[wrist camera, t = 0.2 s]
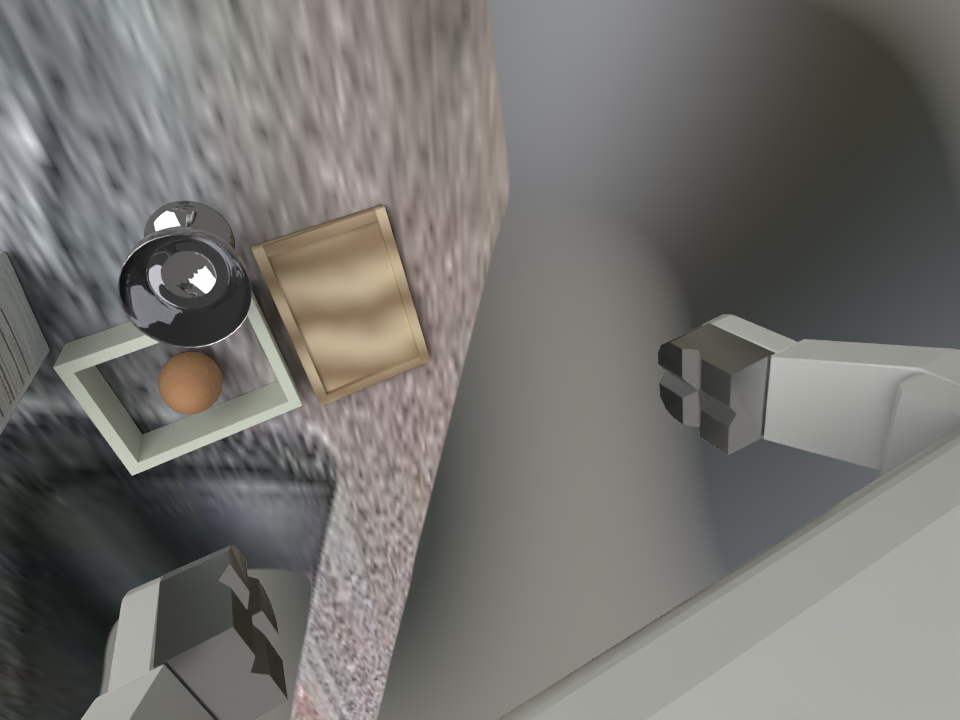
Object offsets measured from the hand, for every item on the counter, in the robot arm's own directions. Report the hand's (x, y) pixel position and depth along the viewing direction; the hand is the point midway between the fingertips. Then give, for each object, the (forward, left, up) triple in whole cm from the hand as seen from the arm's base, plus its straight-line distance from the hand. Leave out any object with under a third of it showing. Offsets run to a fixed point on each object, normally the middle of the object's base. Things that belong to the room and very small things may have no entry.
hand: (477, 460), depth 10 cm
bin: (+16, -13, -48) cm, 52 cm away
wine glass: (+5, -8, -48) cm, 49 cm away
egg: (+16, -13, -48) cm, 52 cm away
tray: (+16, +3, -48) cm, 50 cm away
